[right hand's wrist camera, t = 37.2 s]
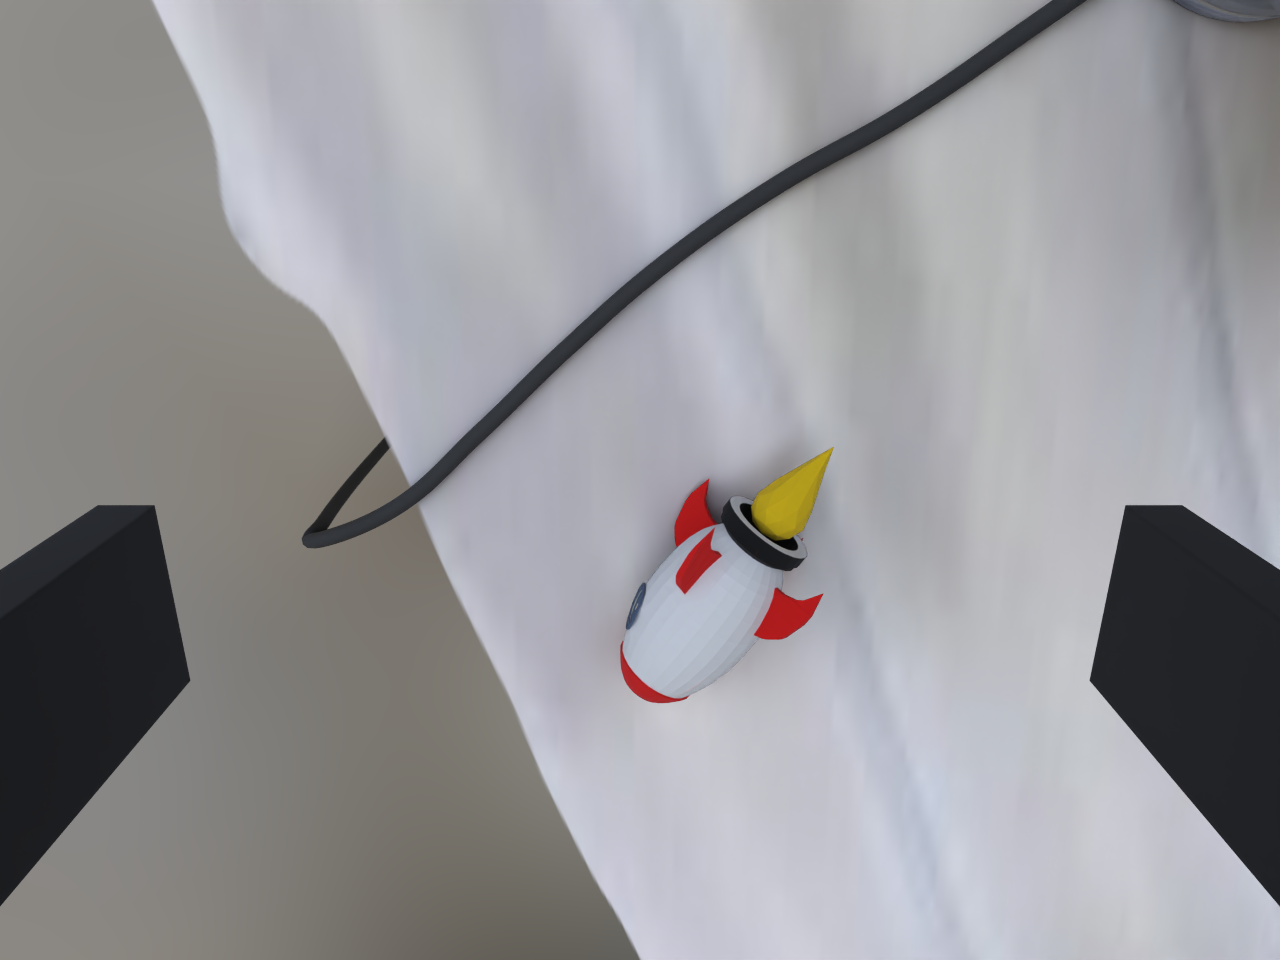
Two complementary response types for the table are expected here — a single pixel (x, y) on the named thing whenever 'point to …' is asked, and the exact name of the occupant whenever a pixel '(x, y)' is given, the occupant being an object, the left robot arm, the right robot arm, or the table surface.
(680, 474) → the table surface
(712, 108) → the table surface
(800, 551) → the toy rocket
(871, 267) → the table surface
